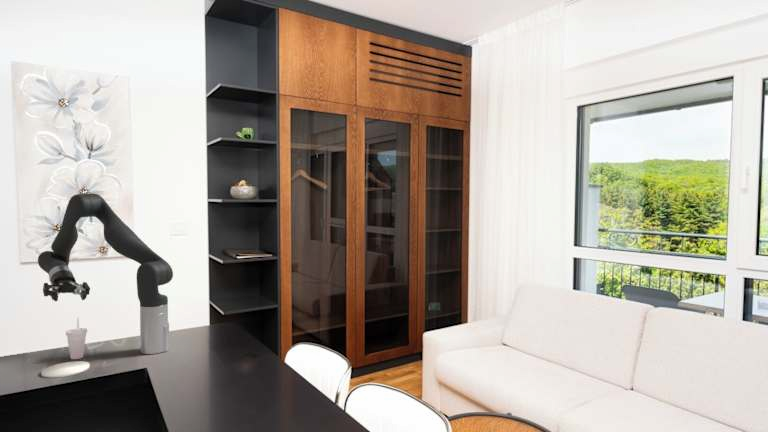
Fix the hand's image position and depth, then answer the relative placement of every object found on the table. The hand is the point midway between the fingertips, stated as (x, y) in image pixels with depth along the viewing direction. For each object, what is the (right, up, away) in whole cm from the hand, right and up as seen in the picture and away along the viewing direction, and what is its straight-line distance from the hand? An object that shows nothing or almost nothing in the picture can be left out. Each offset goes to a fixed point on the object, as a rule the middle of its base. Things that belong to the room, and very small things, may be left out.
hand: (70, 298), depth 167 cm
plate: (+11, -20, -18) cm, 30 cm away
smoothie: (+6, -20, -5) cm, 22 cm away
